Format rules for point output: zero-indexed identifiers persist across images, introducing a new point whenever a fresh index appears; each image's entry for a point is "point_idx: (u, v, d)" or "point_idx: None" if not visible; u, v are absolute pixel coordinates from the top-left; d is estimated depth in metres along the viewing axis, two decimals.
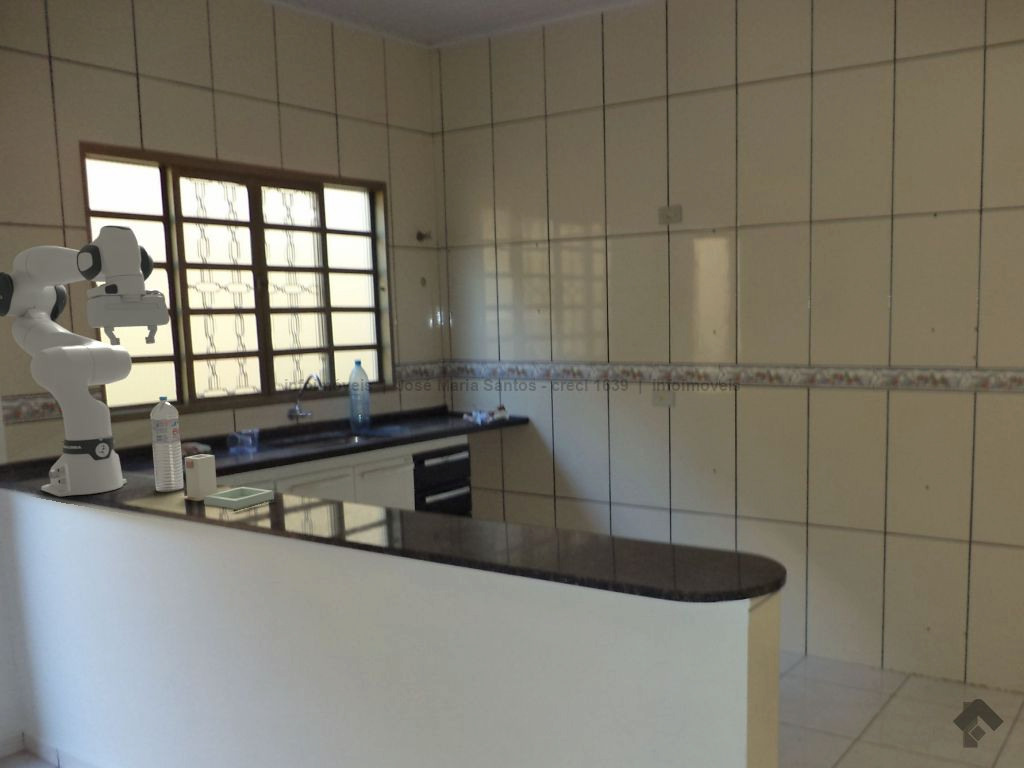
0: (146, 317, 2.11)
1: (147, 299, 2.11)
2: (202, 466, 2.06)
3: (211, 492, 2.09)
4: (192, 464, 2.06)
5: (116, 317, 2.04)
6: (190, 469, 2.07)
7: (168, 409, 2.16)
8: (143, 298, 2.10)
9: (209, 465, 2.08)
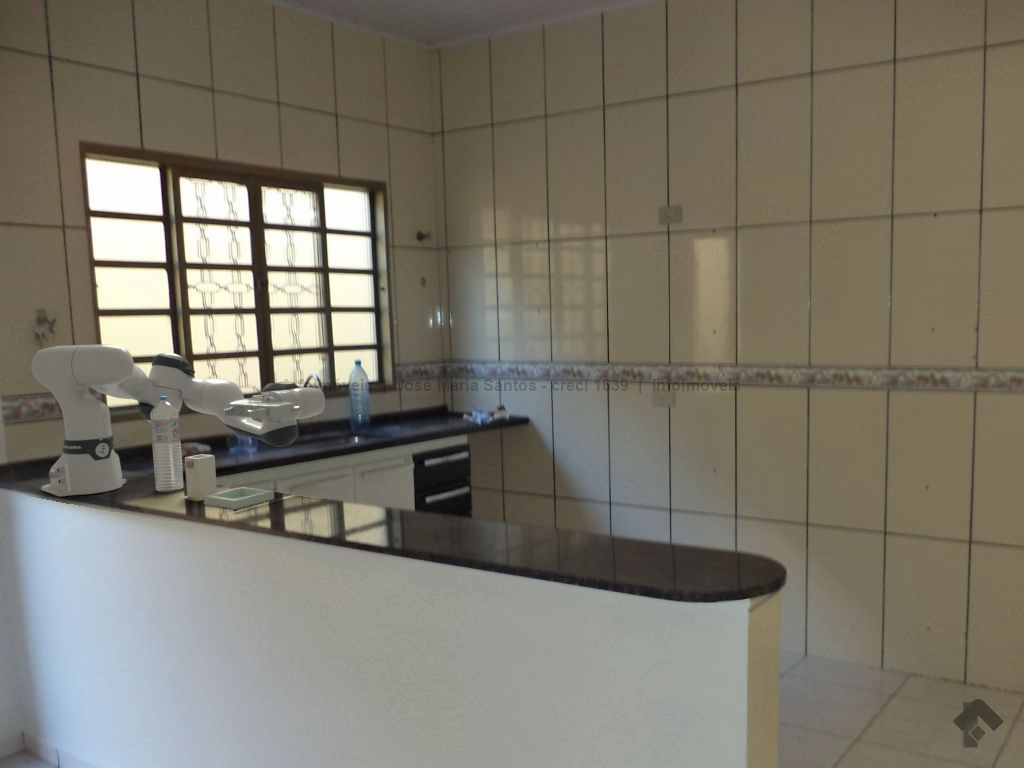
0: None
1: (280, 402, 2.25)
2: (202, 466, 2.06)
3: (211, 492, 2.09)
4: (192, 464, 2.06)
5: None
6: (190, 469, 2.07)
7: (168, 409, 2.16)
8: (278, 402, 2.26)
9: (209, 465, 2.08)
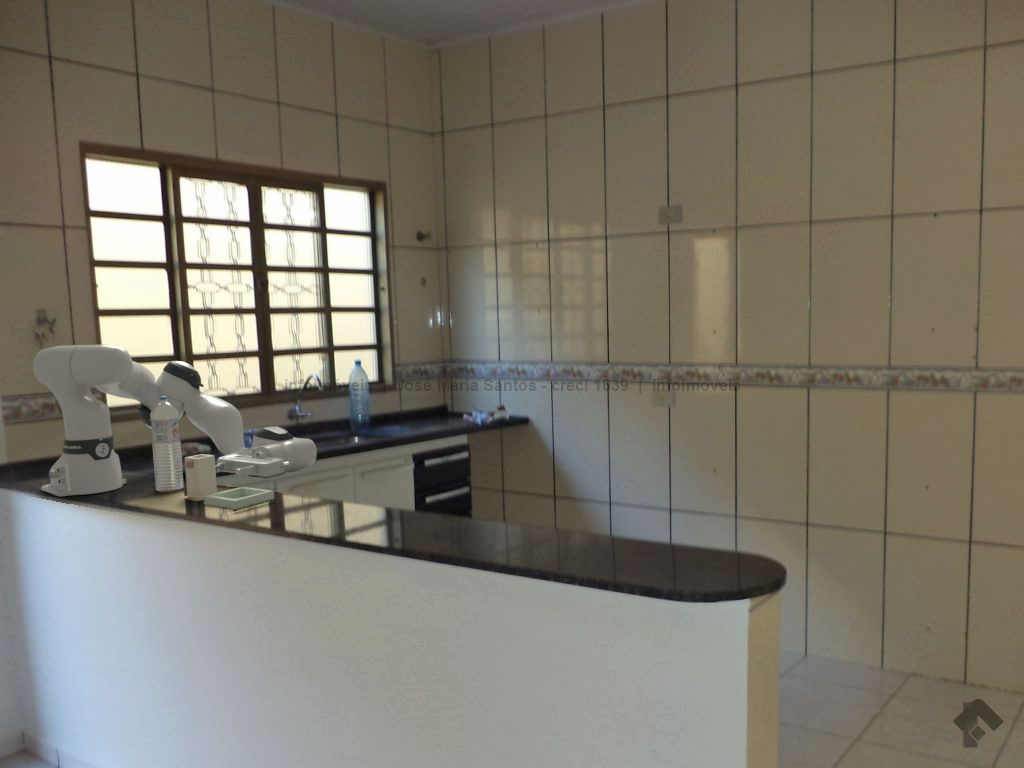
0: (254, 460, 2.18)
1: (270, 457, 2.22)
2: (202, 466, 2.06)
3: (211, 492, 2.09)
4: (192, 464, 2.06)
5: (234, 458, 2.23)
6: (190, 469, 2.07)
7: (168, 409, 2.16)
8: (268, 457, 2.22)
9: (209, 465, 2.08)
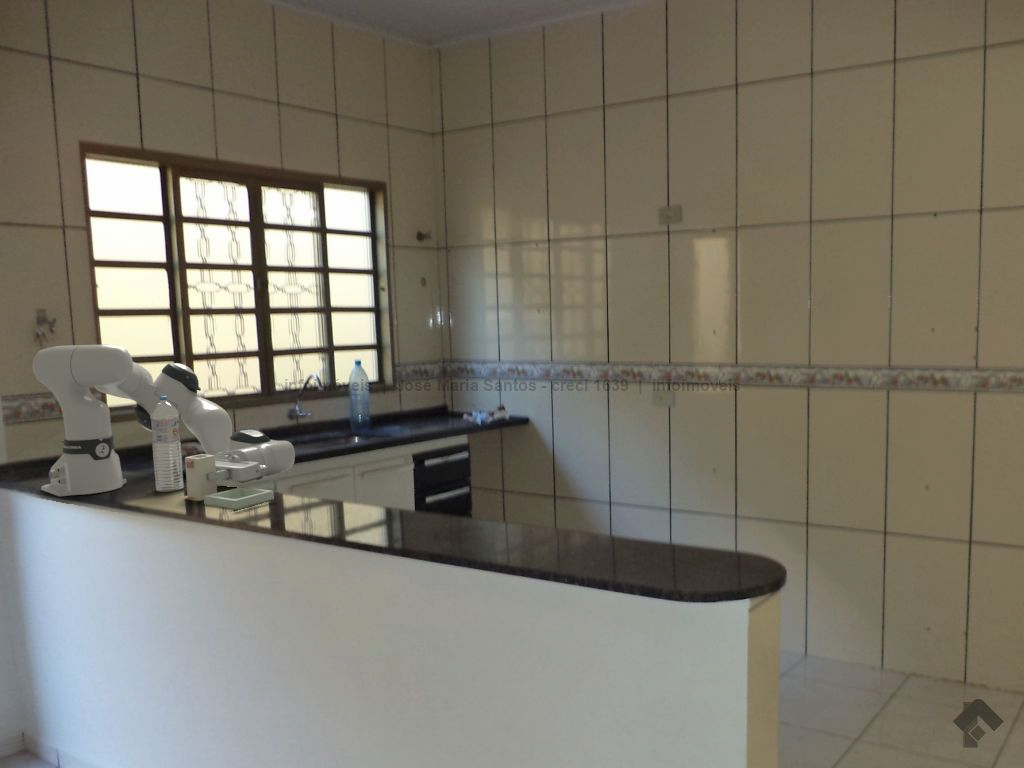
0: (229, 464, 2.12)
1: (246, 461, 2.15)
2: (202, 466, 2.06)
3: (211, 492, 2.09)
4: (192, 464, 2.06)
5: None
6: (190, 469, 2.07)
7: (168, 409, 2.16)
8: (244, 461, 2.16)
9: (209, 465, 2.08)
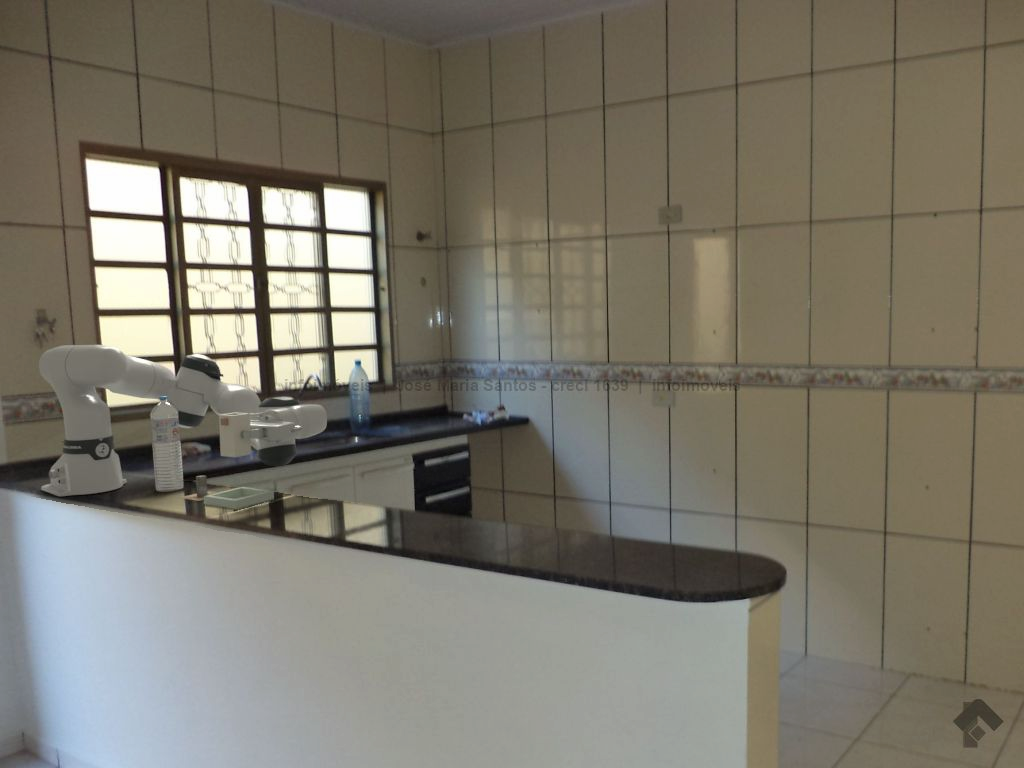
0: (263, 423, 2.05)
1: (280, 421, 2.09)
2: (237, 424, 1.99)
3: (245, 451, 2.02)
4: (227, 421, 1.99)
5: None
6: (224, 427, 2.00)
7: (168, 409, 2.16)
8: (278, 421, 2.09)
9: (244, 423, 2.01)
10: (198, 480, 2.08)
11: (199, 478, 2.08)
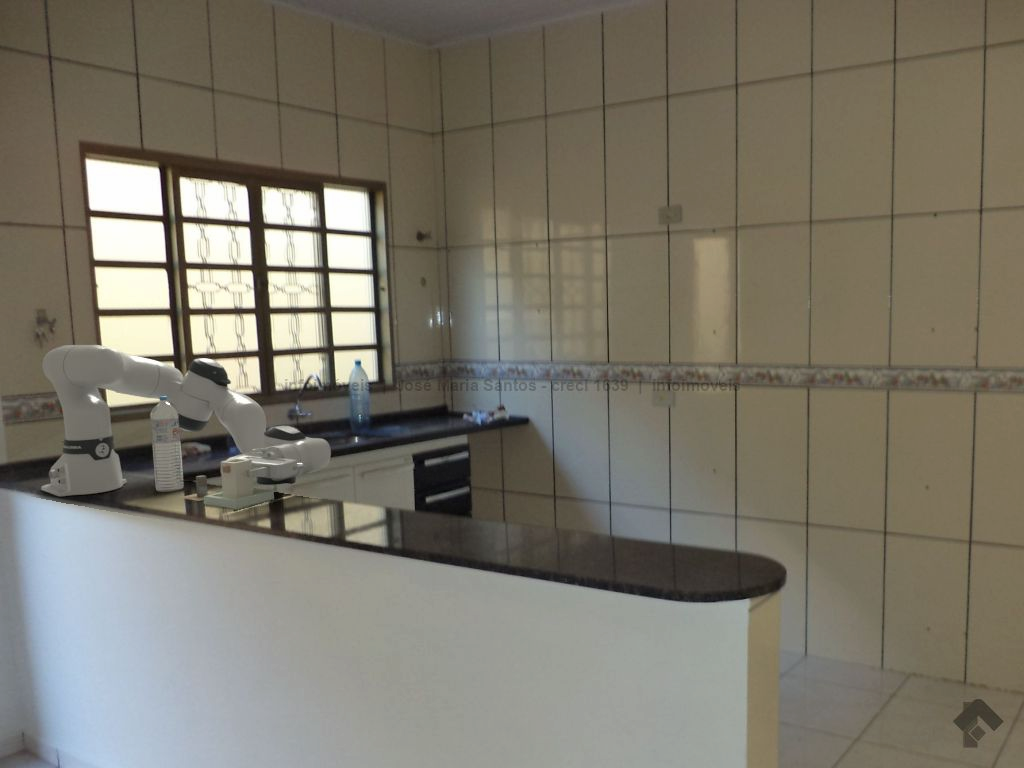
0: (265, 461, 2.04)
1: (282, 458, 2.07)
2: (239, 471, 1.98)
3: None
4: (229, 469, 1.98)
5: None
6: (226, 474, 1.99)
7: (168, 409, 2.16)
8: (280, 458, 2.08)
9: (246, 470, 2.00)
10: (198, 480, 2.08)
11: (199, 478, 2.08)
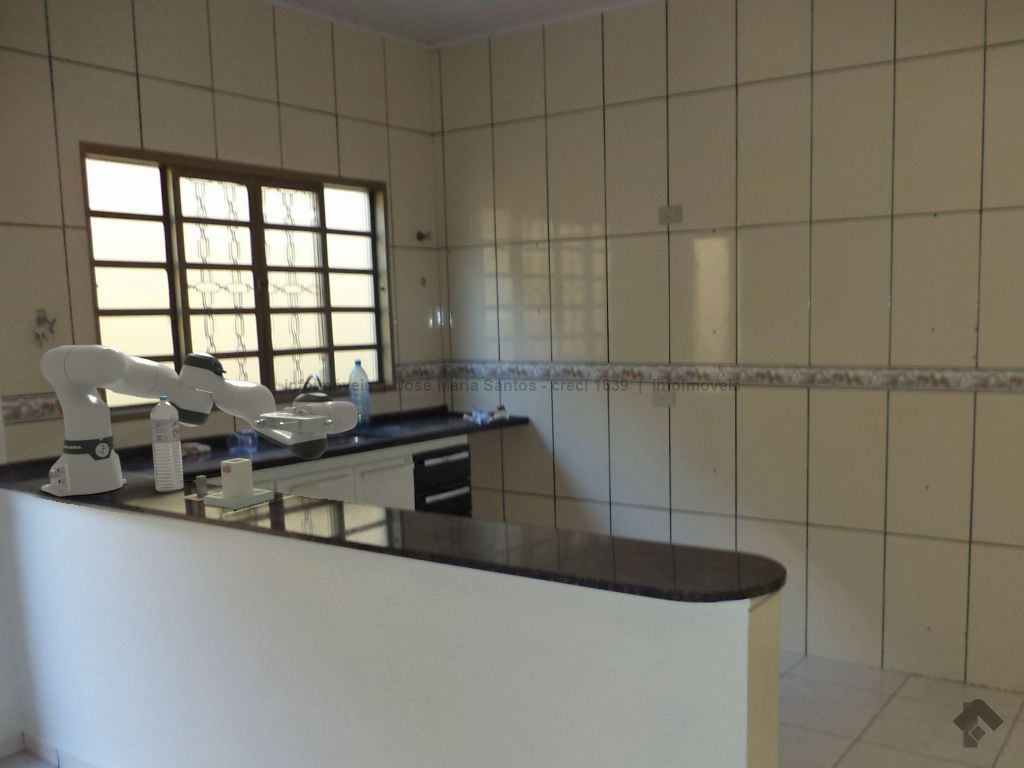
0: None
1: (313, 415, 2.17)
2: (239, 471, 1.98)
3: None
4: (229, 469, 1.98)
5: (277, 415, 2.19)
6: (226, 474, 1.99)
7: (168, 409, 2.16)
8: (311, 415, 2.18)
9: (246, 470, 2.00)
10: (198, 480, 2.08)
11: (199, 478, 2.08)
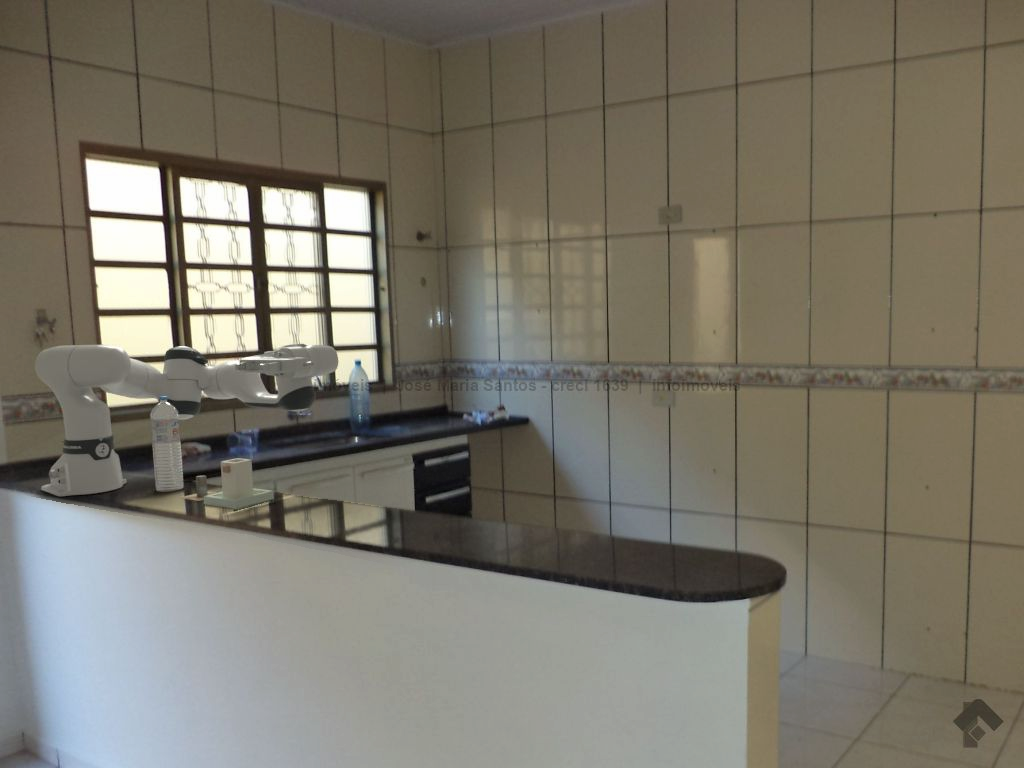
0: (277, 358, 2.17)
1: (293, 357, 2.20)
2: (239, 471, 1.98)
3: None
4: (229, 469, 1.98)
5: (257, 358, 2.21)
6: (226, 474, 1.99)
7: (168, 409, 2.16)
8: (291, 357, 2.21)
9: (246, 470, 2.00)
10: (198, 480, 2.08)
11: (199, 478, 2.08)
